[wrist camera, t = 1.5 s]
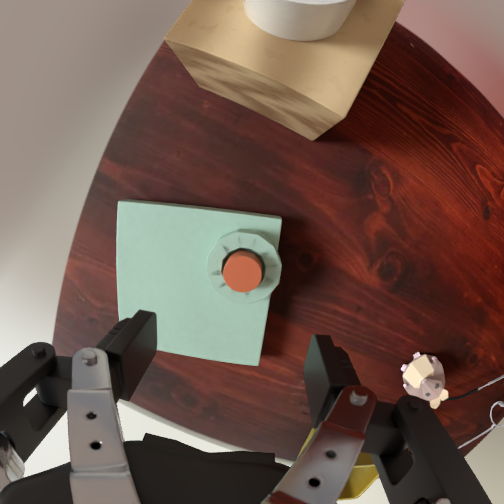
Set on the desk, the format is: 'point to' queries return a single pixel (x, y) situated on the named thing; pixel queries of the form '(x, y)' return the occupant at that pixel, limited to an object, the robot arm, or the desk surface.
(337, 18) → the ramekin
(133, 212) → the scale
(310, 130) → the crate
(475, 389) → the eyeglasses
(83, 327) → the desk surface
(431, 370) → the mouse figurine
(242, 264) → the button
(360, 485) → the flower pot
